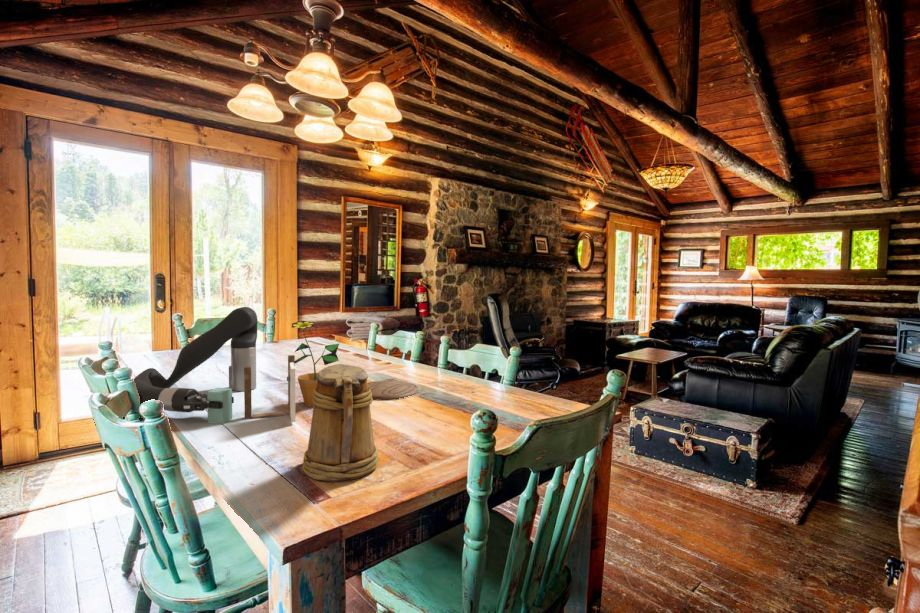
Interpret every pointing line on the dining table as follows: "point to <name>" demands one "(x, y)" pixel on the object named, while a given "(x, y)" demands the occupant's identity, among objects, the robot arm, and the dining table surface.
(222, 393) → the teal block
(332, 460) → the tankard
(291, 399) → the cream door
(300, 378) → the potted plant
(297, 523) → the dining table surface
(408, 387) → the trivet
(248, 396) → the door frame
